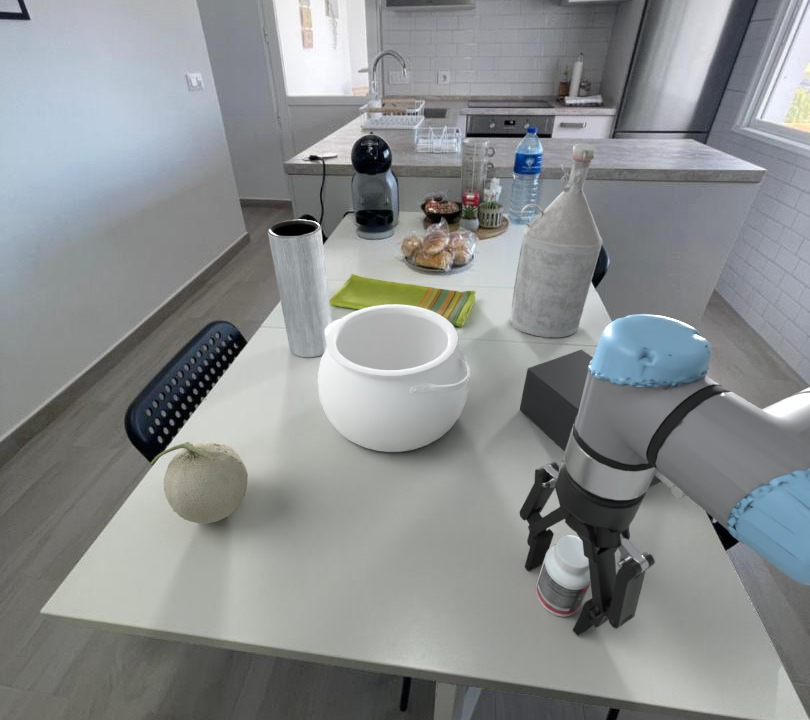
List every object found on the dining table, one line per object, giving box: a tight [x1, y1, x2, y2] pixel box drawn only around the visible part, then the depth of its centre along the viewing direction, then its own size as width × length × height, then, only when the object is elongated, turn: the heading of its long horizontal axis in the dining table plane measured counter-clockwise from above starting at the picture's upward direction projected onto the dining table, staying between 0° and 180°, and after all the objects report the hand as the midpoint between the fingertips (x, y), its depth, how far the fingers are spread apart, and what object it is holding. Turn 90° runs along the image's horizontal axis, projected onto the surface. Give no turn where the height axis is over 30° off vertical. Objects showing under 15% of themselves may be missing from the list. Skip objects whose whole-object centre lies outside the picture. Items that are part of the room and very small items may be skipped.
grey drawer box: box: [519, 349, 594, 452], centre depth 77 cm, size 15×13×10 cm
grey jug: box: [509, 143, 603, 339], centre depth 96 cm, size 13×17×40 cm
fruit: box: [149, 441, 249, 524], centre depth 62 cm, size 10×12×15 cm
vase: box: [267, 219, 333, 358], centre depth 93 cm, size 10×10×27 cm
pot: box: [317, 304, 471, 453], centre depth 78 cm, size 29×26×16 cm
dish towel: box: [329, 273, 477, 328], centre depth 116 cm, size 15×36×3 cm, turn 71°
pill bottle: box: [535, 534, 591, 618], centre depth 52 cm, size 5×5×10 cm
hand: (557, 594), depth 55 cm, fingers open, 8 cm apart
